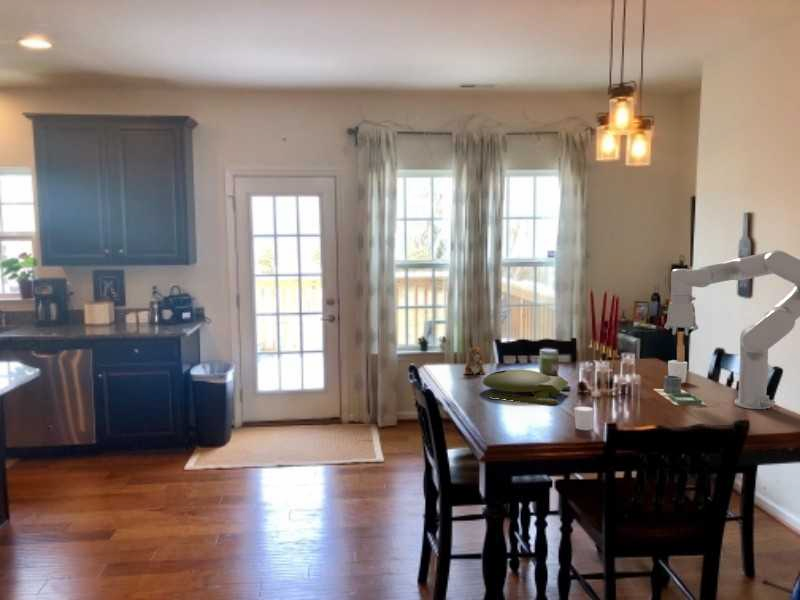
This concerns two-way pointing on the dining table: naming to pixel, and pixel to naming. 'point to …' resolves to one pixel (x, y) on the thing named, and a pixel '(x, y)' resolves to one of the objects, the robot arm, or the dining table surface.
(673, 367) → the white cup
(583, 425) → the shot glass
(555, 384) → the spaceship
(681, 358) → the dowel
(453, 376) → the dining table surface
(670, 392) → the stand
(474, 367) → the stuffed squirrel
